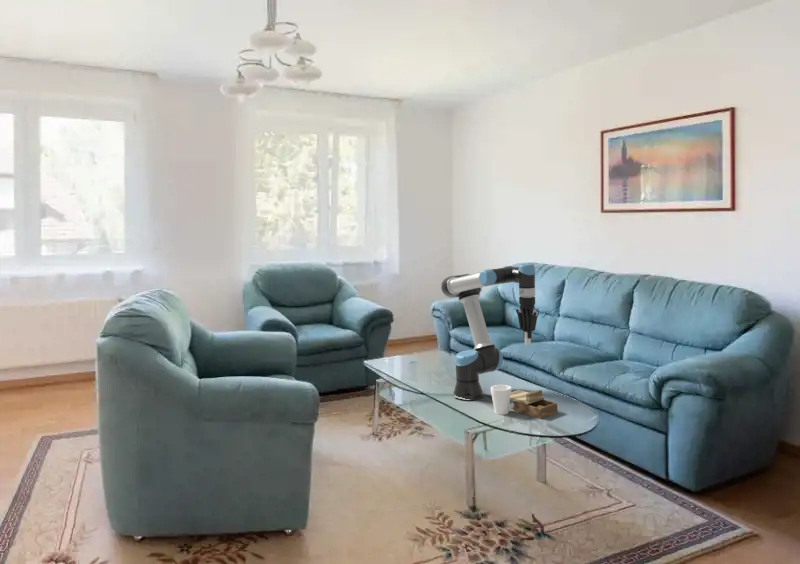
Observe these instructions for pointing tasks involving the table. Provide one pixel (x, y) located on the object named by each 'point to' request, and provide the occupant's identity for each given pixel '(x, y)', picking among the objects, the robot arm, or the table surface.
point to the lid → (526, 396)
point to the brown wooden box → (533, 410)
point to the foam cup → (501, 398)
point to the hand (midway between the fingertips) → (527, 344)
